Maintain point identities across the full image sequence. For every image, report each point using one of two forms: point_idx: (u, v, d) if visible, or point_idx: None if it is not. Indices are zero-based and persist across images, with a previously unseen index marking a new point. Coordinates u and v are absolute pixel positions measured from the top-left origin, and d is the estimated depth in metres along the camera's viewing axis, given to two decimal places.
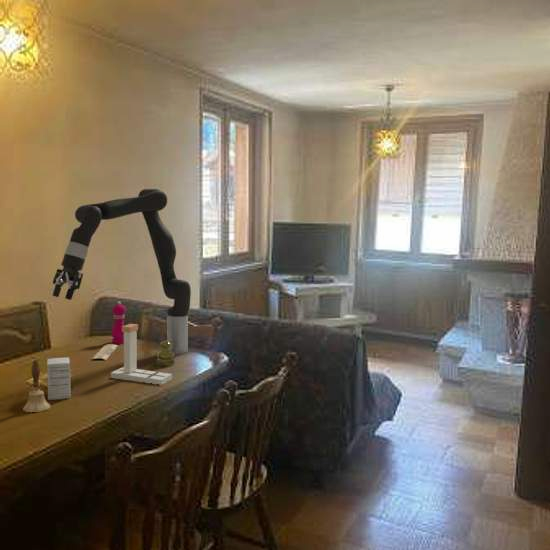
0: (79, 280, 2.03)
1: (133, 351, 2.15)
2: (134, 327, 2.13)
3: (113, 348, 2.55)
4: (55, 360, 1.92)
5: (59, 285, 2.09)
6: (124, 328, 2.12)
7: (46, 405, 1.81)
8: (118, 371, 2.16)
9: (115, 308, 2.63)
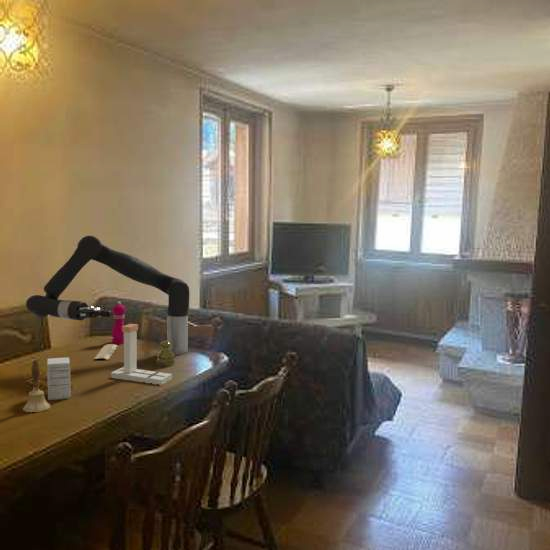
0: (88, 313, 2.14)
1: (133, 351, 2.15)
2: (134, 327, 2.13)
3: (113, 348, 2.55)
4: (55, 360, 1.92)
5: None
6: (124, 328, 2.12)
7: (46, 405, 1.81)
8: (118, 371, 2.16)
9: (115, 308, 2.63)
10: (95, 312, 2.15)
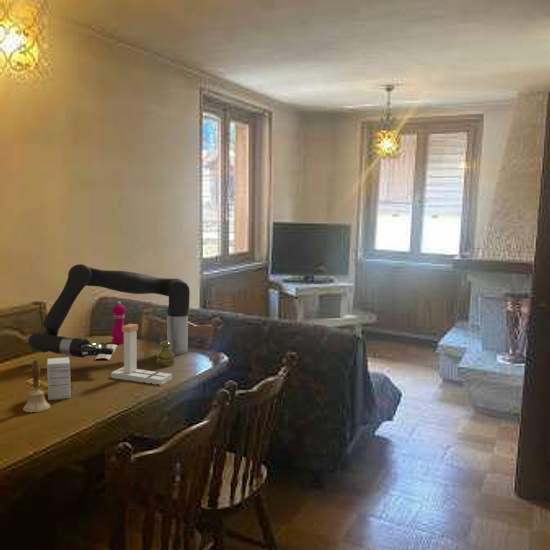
0: (89, 351, 2.16)
1: (133, 351, 2.15)
2: (134, 327, 2.13)
3: (114, 348, 2.55)
4: (55, 360, 1.92)
5: None
6: (124, 328, 2.12)
7: (46, 405, 1.81)
8: (118, 371, 2.16)
9: (115, 308, 2.63)
10: (97, 350, 2.16)
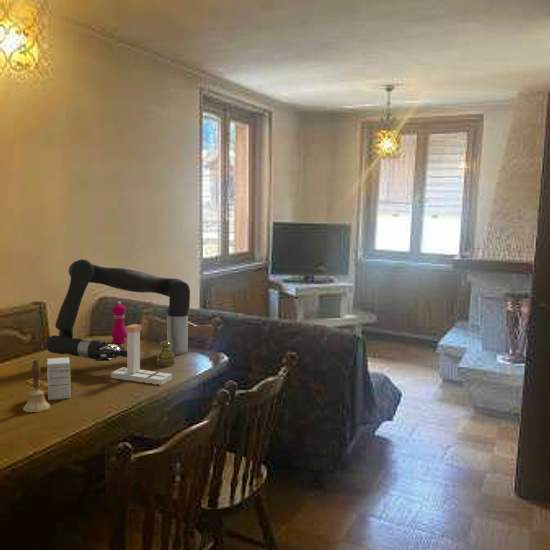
0: (108, 354, 2.13)
1: (136, 351, 2.14)
2: (137, 327, 2.13)
3: None
4: (55, 360, 1.92)
5: None
6: (127, 328, 2.11)
7: (46, 405, 1.81)
8: (118, 371, 2.16)
9: (115, 308, 2.63)
10: (115, 352, 2.14)
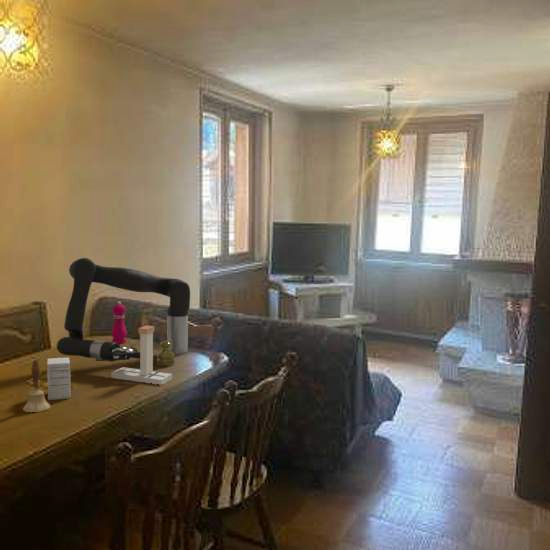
0: (121, 355, 2.11)
1: (149, 353, 2.12)
2: (150, 329, 2.11)
3: None
4: (55, 360, 1.92)
5: None
6: (140, 330, 2.09)
7: (46, 405, 1.81)
8: (118, 371, 2.16)
9: (115, 308, 2.63)
10: (128, 354, 2.12)
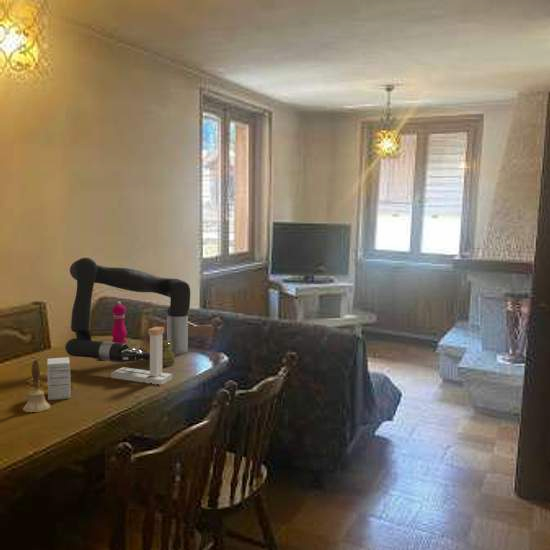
0: (131, 357, 2.10)
1: (159, 354, 2.11)
2: (160, 330, 2.10)
3: None
4: (55, 360, 1.92)
5: None
6: (150, 331, 2.08)
7: (46, 405, 1.81)
8: (118, 371, 2.16)
9: (115, 308, 2.63)
10: (138, 355, 2.11)
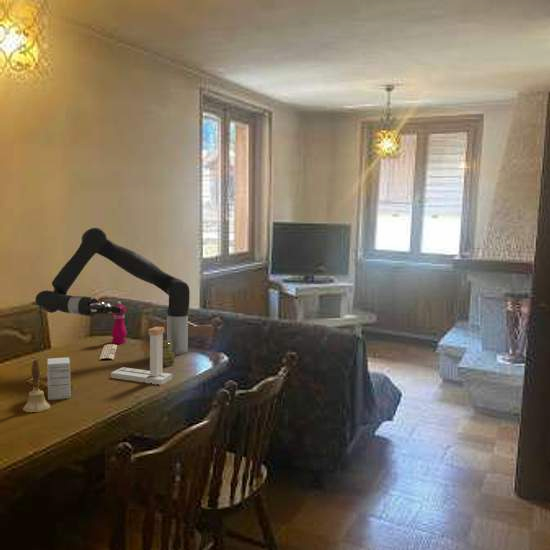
0: (99, 309, 2.13)
1: (159, 354, 2.11)
2: (160, 330, 2.10)
3: (115, 348, 2.55)
4: (55, 360, 1.92)
5: None
6: (150, 331, 2.08)
7: (46, 405, 1.81)
8: (118, 371, 2.16)
9: None
10: (106, 308, 2.14)
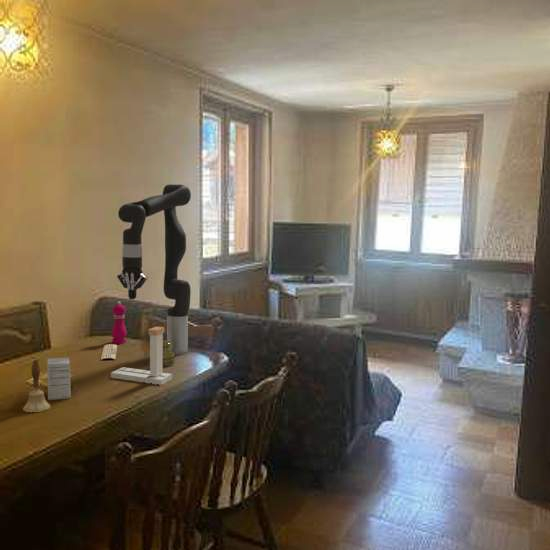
0: (143, 283, 2.20)
1: (159, 354, 2.11)
2: (160, 330, 2.10)
3: (115, 348, 2.55)
4: (55, 360, 1.92)
5: None
6: (150, 331, 2.08)
7: (46, 405, 1.81)
8: (118, 371, 2.16)
9: (115, 308, 2.63)
10: (139, 287, 2.21)
